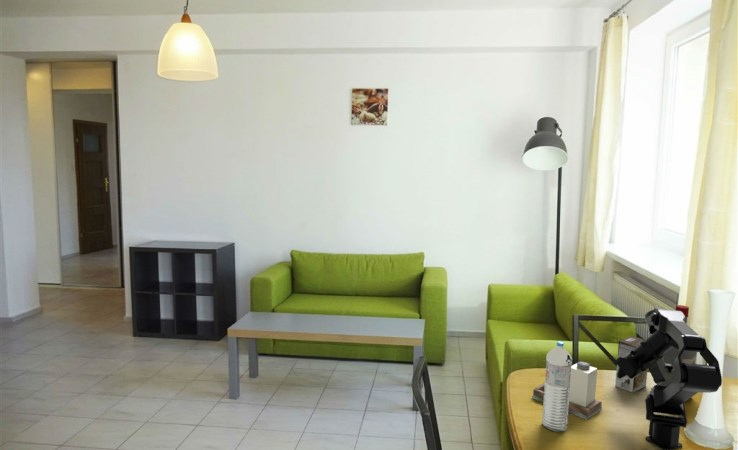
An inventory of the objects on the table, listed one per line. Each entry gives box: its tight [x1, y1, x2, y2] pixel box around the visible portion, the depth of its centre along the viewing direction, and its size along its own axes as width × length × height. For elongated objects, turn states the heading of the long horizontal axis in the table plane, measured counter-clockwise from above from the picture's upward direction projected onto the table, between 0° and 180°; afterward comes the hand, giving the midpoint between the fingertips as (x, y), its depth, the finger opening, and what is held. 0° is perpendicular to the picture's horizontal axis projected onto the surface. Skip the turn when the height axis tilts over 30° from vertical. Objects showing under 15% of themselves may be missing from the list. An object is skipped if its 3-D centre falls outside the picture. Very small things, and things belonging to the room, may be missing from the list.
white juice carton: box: [569, 361, 598, 408], centre depth 157 cm, size 6×6×13 cm
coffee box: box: [614, 335, 648, 393], centre depth 174 cm, size 9×6×16 cm
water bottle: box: [541, 340, 573, 433], centre depth 145 cm, size 7×7×25 cm
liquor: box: [656, 304, 698, 403], centre depth 167 cm, size 9×9×30 cm
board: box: [531, 382, 603, 420], centre depth 161 cm, size 18×10×3 cm, turn 42°
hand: (618, 377), depth 154 cm, fingers closed
